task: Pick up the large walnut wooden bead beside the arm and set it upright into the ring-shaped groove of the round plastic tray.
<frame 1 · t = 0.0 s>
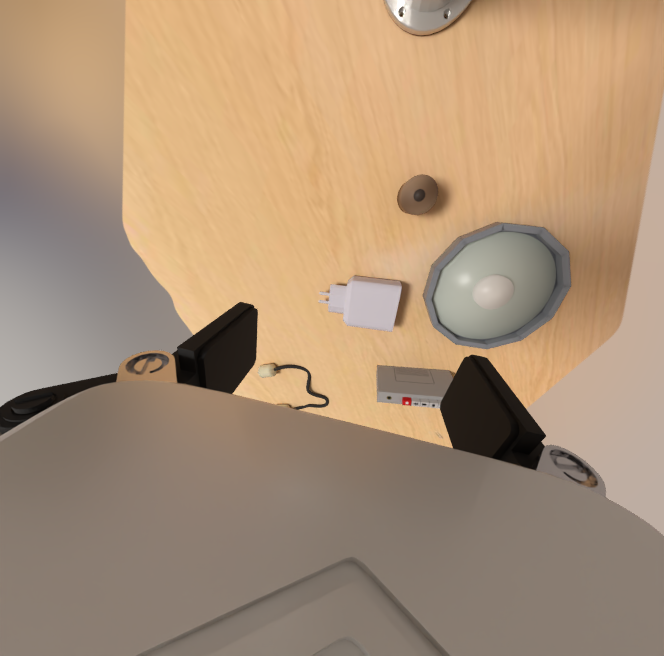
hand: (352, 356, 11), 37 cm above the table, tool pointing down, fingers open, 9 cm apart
cassette player: (411, 371, 55), on the table
cable: (293, 384, 62), on the table
tray: (488, 289, 44), on the table
charger: (357, 297, 49), on the table
bead: (412, 196, 40), on the table
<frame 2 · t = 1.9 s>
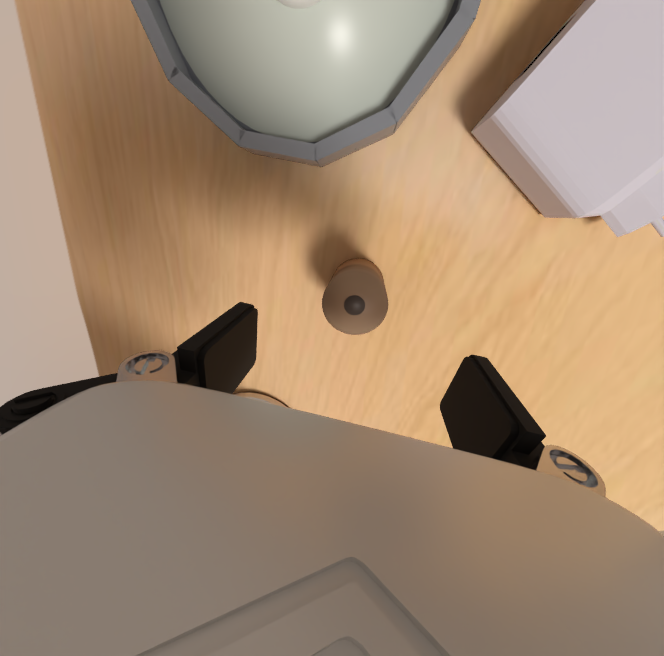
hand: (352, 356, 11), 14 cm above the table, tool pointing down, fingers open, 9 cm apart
charger: (587, 151, 18), on the table
bead: (357, 284, 24), on the table
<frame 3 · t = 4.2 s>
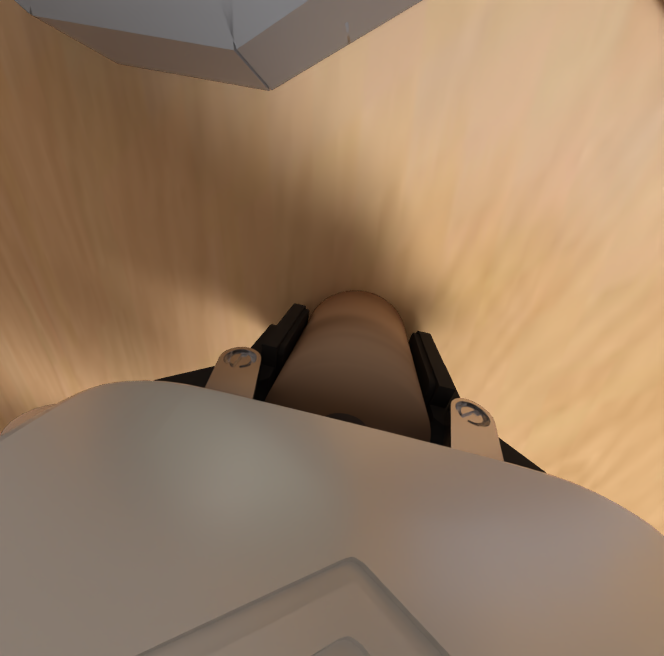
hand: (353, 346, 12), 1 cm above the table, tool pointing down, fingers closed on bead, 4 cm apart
bead: (354, 337, 12), on the table, touching gripper
when the fingers open (3 cm above the table, at t = 12.2 s): bead drops 1 cm, resting on tray.
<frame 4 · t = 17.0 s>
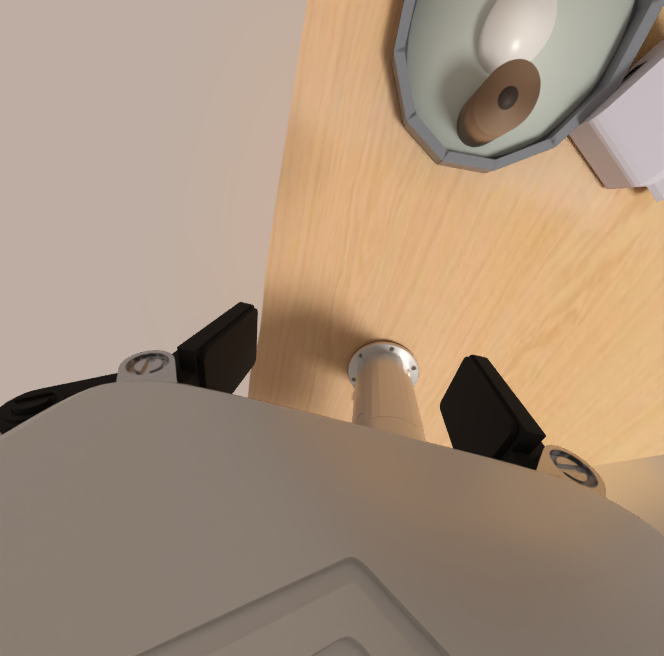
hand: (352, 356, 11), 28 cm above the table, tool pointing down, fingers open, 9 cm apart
tray: (505, 42, 25), on the table
charger: (640, 145, 27), on the table
bead: (481, 119, 27), point 1 cm above the table, touching tray
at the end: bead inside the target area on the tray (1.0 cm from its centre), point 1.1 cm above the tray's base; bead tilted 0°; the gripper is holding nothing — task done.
